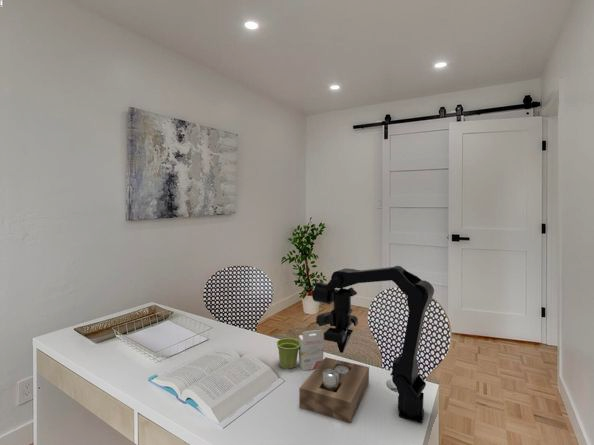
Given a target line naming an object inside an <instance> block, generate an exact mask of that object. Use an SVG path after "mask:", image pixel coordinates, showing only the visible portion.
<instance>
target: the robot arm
mask: <svg viewBox="0 0 594 445" xmlns="http://www.w3.org/2000/svg"><path fill="white" fill-rule="evenodd" d="M389 281H392V282H393V283H394V284H395V286H397V287H398V288H399V289H400V291H401V292H402V293H403V294H405V295H406V296H407V297H406V298H407V299H406V300H407V301H406V303H407V309H408V317H407V322H406V328H405V333H404V339H403V345H402V350H401V355H398V356H397V357H396V358H395V359H394V361H393V362H392V370H391V373H390V376H392V377H391V378H392V379H391V380H392V383H393V384H394V386H395V387H396V390H397V392H398V397H397V411H398V416H399V417H400V418H403V419H406V420H411V421H413V422H418V423H421V424H422V423H423V422H424V413H425V408H424V402H425V401H424V398H425V393H424V392H423V391H424V389H425V387H426V385H427V383H426V382H425V380H424V379H423V378H422V377H421V375H420V374H419V362H418V352H419V347H420V341H421V337H422V331H423V326H424V321H425V320H424V319H425V314H426V312H427V310H428V308H429V306H430V304H431V301H432V299H433V297H434V293H435V289H434V286H433V285H432V284H431V283H430V282H429V281H426V280H422V279H421V278H420V277H419V276H417V275H415V274H413V273H411V272H410V271H407V270H406V268H404V267H402V266H401V265H394V266H390V267H389V266H388V267H381V268H371V269H361V270H360V269H355V268H346V267H345V268H342V269H339V270H337V271H334V272H332V273H331V278H330V280H329V281H328V283H324V282H321V281H319V282H316V283H315V287H314V288H313V291H312V293H311V297H312V300H313V302H315V303H321V304H326V305H331V304H332V303H333V308H332V310H331V311H328V312H323V313H320V314H317V316H316V318H315V319H316V320H315V323H316V324H317V325H318V326H319V327H323V326H326V325H329V328H328V329H326V330H325V331H324V333H323V341H327V342H333V343H336V345H337V348H338V352H339V353H341V354H343V353H344V351H345V349H346V347H347V345H348V342H349V341H350V339H351V336H352V334H353V332H354V330H353V329H350V327H351V326H352V325H353V326H354V327H357V325H358V324H359V322H358V321H359V318H358V317H357V316H356V315H352V313H353V308H351V304H352V301H351V300H352V297H354V296H356V295H358V292H357V291H356V290H355V289H354V288H353V287H350V286H354V285H357V284H363V283H364V284H365V283H378V282H389ZM347 287H349V288H347Z"/></svg>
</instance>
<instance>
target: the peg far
mask: <svg viewBox="0 0 594 445" xmlns="http://www.w3.org/2000/svg"><path fill="white" fill-rule="evenodd" d="M335 370H336V371H338V373H341V374H345V375H348V373H349V369H348V368H347V367H346V366H336V367H335Z"/></svg>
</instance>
